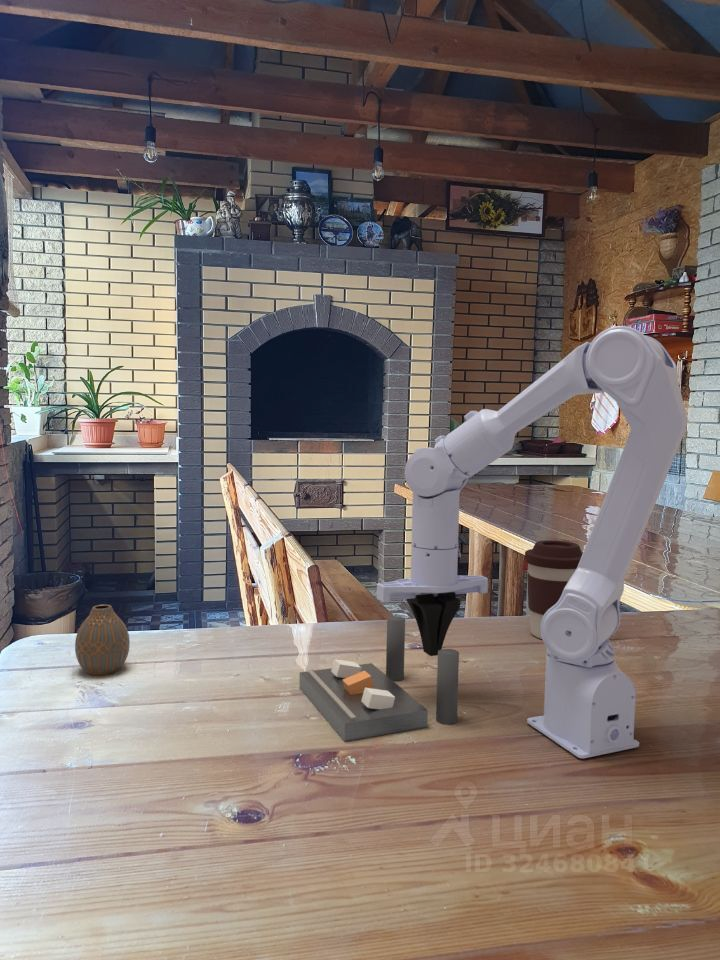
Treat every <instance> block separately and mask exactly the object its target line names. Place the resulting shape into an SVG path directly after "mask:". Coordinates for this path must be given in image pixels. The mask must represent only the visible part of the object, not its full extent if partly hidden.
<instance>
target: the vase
mask: <svg viewBox="0 0 720 960" xmlns="http://www.w3.org/2000/svg"><path fill="white" fill-rule="evenodd" d="M130 647H131V645H130V634H129V631H128V628H127V626H126V624H125V622H123V620H122V619H121V618H120V616H118V615H117V614H116V612H115V611H114V608H113V607H112V605H111V604H97V605H94V606H92V607H91V610H90V612H89V614H88V616H87V617H86V618H85V619H84V621H83V622H82V623H81V625H80V627H79V629H78V630H77V633H76V636H75V641H74V651H75V657H76V660H77V662H78V664H79V666H80V667H81V668H82V670H84V671H85V672H86V673H87V674H89V675H92V676H104V675H110V674H114V673H116V672H117V671H118V670H120V668H121V667H122V666H123V665H124V664H125V663H126V661H127V659H128V657H129V651H130Z"/></svg>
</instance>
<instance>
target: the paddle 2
mask: <svg viewBox="0 0 720 960" xmlns="http://www.w3.org/2000/svg"><path fill="white" fill-rule="evenodd" d="M394 700H395V697H394V696H393V695H392V694H391V693H390V692H389V691H386V690H379V689H372V688H365V689H364V693H363V696H362V700H361V701H362V702H363V703H364V704H365V705H366V706H367V707H368V708H372V709H386V708H393V704H394Z"/></svg>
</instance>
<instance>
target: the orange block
mask: <svg viewBox="0 0 720 960" xmlns="http://www.w3.org/2000/svg"><path fill="white" fill-rule="evenodd" d="M342 681H343V684H344V688H345V690H346V691H347V692H348V693H349V694H350V695H353V694H360V693H364V689H365V688H372V689H374V686H373V682H372V678H371V676H370V675H369V674H368V673H367V672H366V671H362V672H360V673H357V674H355V675H352V676H350V677H348V678H345V679H343V680H342Z"/></svg>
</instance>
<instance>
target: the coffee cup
mask: <svg viewBox="0 0 720 960" xmlns="http://www.w3.org/2000/svg"><path fill="white" fill-rule="evenodd" d="M583 552H584V551H582V549H581V547H580V544H577V543H575V542H571V541H565V540H555V539H554V540H553V539H551V540H548V539H545V540H539V541H536V542H535V543H534V545H533V547H532V548H529V549H527V550H525V552H524V561H525V562H526V564H528V565H527V566H528V572H527V577H526V579H527V605H528V609H529V627H530V628H529V630H530V631H529V632H530V633H531V635H532V636H534V637H535V638H537V639H540V640H542V636H541V631H540V628H541V621H542V618H543V616H544V614H545V613H546V612H547V610H548V609H550V608H551V607H552V606H554V605H555V604H556V603H557V602H558V600H559V599H560V597H561V595H562V592H563V590H564V588H565V586H566V584H567V583H568V581H569V580H570V578H571V577H572V575H573V574H574V572H575V570H576V569H577V567H578V564H579V562H580V559H581V557H582V554H583Z"/></svg>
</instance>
